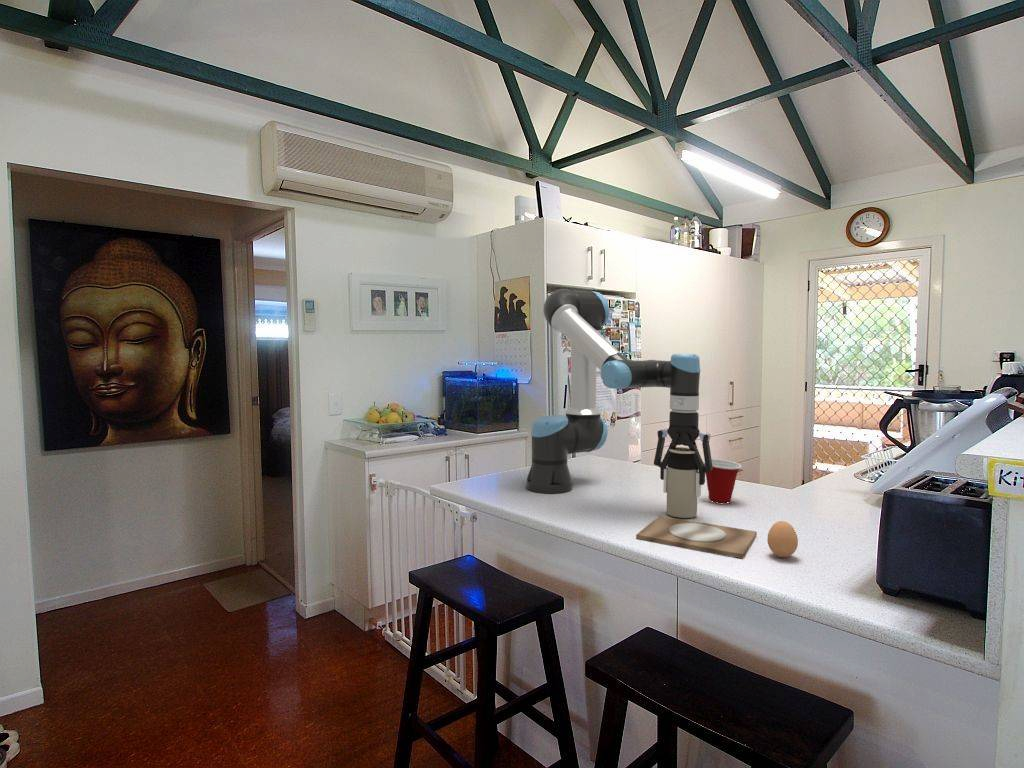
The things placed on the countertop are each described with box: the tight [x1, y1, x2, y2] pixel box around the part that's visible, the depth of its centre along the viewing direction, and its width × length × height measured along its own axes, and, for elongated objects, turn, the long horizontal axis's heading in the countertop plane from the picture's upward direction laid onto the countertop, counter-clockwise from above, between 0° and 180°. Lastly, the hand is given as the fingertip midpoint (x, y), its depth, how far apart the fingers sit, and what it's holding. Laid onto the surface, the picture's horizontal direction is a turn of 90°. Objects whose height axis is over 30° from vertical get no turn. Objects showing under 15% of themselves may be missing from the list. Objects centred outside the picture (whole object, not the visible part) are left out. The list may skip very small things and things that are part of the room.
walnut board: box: [635, 515, 757, 559], centre depth 135 cm, size 24×18×1 cm
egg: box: [767, 520, 799, 559], centre depth 122 cm, size 6×6×8 cm
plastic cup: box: [702, 458, 742, 503], centre depth 166 cm, size 11×11×12 cm
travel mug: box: [666, 446, 699, 519], centre depth 153 cm, size 8×8×18 cm
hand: (681, 493), depth 153 cm, fingers closed on travel mug, 8 cm apart
